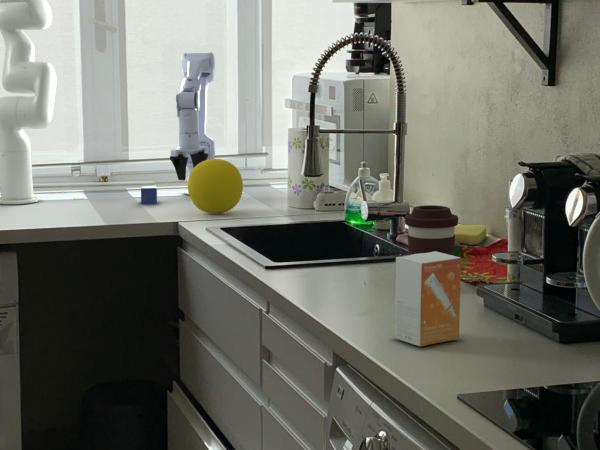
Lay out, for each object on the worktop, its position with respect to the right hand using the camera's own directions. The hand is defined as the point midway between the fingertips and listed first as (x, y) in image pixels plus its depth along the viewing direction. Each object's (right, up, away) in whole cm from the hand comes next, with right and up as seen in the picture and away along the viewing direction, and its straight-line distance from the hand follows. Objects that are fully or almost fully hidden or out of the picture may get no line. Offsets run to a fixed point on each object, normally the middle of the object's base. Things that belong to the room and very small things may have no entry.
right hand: (189, 178), depth 309 cm
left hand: (-60, +23, -36) cm, 73 cm away
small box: (+52, -32, -147) cm, 159 cm away
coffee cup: (+57, -25, -111) cm, 128 cm away
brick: (-12, -7, +2) cm, 14 cm away
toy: (+9, -11, -21) cm, 25 cm away
